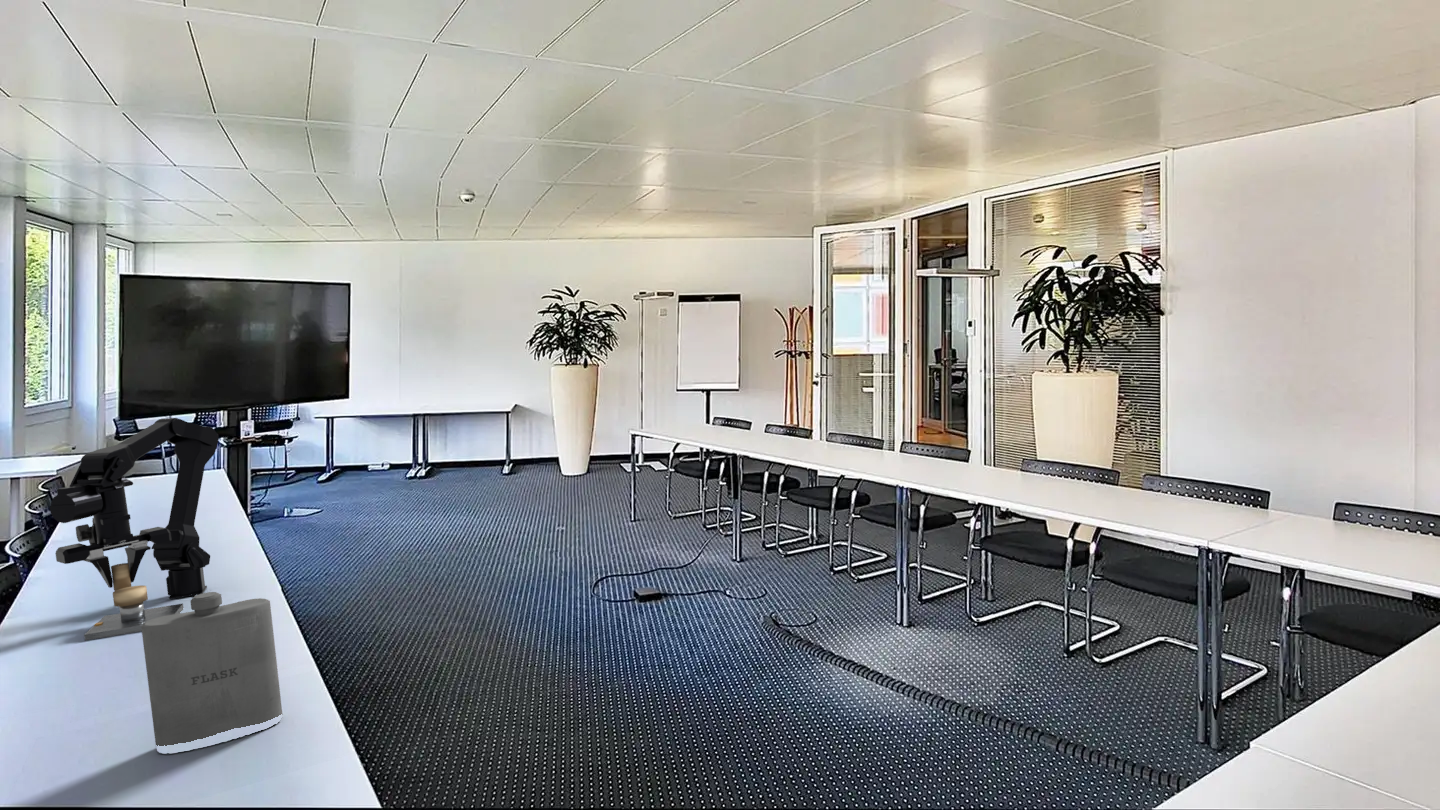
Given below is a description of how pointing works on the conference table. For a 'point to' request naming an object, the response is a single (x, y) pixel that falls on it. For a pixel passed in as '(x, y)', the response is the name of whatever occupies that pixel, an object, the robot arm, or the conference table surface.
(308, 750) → the conference table surface
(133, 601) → the crank handle
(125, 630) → the base
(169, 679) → the flask
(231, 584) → the conference table surface
